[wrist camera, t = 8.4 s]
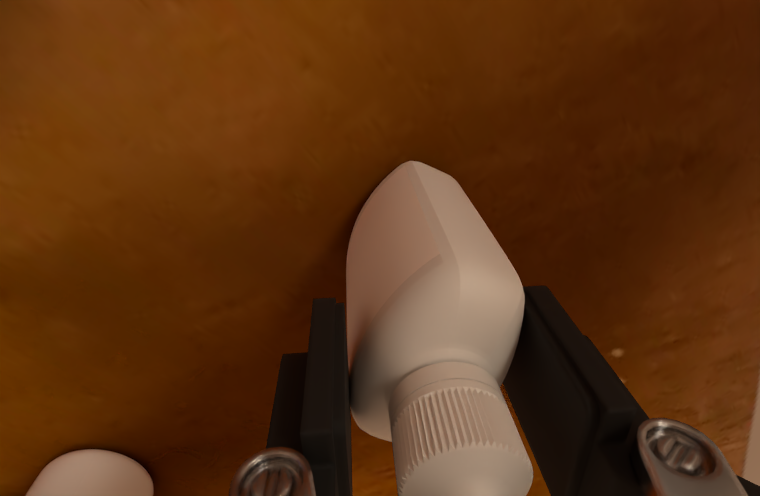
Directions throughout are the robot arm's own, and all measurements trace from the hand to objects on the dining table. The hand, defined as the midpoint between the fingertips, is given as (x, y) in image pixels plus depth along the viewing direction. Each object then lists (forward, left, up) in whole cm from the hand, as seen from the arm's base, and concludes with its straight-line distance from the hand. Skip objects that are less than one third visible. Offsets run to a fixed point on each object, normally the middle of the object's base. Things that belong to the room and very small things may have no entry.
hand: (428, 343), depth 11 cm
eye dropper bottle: (0, 0, -7) cm, 7 cm away
